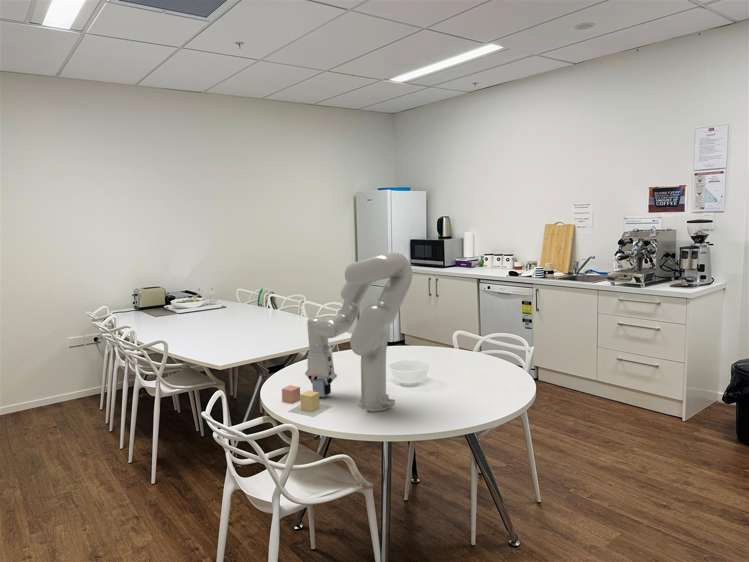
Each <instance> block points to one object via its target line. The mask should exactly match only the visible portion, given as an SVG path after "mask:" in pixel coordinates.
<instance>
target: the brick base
mask: <svg viewBox="0 0 749 562" xmlns="http://www.w3.org/2000/svg"><path fill="white" fill-rule="evenodd" d="M299 401H300V405H301V410H304V411H309V412H313V411H315V410H317V409H318V408H320V406H319V404H320V397H319V392H314V391H313V390H306V391H305V392H302V393H300V400H299Z"/></svg>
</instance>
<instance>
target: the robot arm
mask: <svg viewBox="0 0 749 562" xmlns="http://www.w3.org/2000/svg"><path fill="white" fill-rule="evenodd" d="M344 278H345V281H346V282H345V284H344V286H343V287H342V289H341V291H340V296H341V298H342V299H343V303H342V306H341V308H340V310H339V311H338V313H337V315H334V316H332V317H329V318H326V317H323V316H314V317H310V318H308V319H307V322H306V324H307V336H308V337H307V339H308V350H309V351H308V352H307V353H308V354H307V369H306V371H305V373H304V375H305V376H306V377H307V378H308V379H309V381H310V383H311V384H312V381H314V380H316V379H318V377H323V378H324V381H325V384H326V385H325V395H327V394H329V393H330V394H331V393H332V388H331V387H332V386H331V384H332V382H333V381H334V380H336V379H337V377H338V375H337V374H336V372H335V367H334V360H333V359H332V357H333V354H332V355H331V352H330V351H328V350H330V347H331V345H330V346H328V342H329V339H334V338H336V337H339V336H341V335H343V334H345V333H346V332H347V333H348V331H349V330H350V329H351V327H352V326H353V324H354V322H355V321H356V319H357V317H358V315H359V312H360V308H361V303H362V300H363V298H364V297H365V295H366V293H367V292H368V290H369V288H370V287H371V285H372V283H373V282H376V281H377V282H378V281H381V280H386V279H388V280H387V282H386V283H385V285H384V286H383V289H382V291H381V293H380V294H379V297H378V299H377V301H375V302H374V303H372V304H369V305H368V306H366V307H365V308H364V309H363V311H362V312H361V314H360V316H359V319H358V320H357V322H356V324H355V327H354V329H353V331H352V334H351V337H350V339H349V340H350V342H349V345H350V348H351V350H352V352H353V353H354V354H355V355H357V356H360V392H361V395H360V396H361V400H359V401H358V402H357V407H358V408H359V409H362V410H365V411H367V413H370V412H371V413H375V412H377V413H378V412H382V411H387V410H388V409H389V408H391V407H392V408H393V407H395V404H396V399H393V398H390V397H389V396H390V395H389V394H388V393H387V348H388V333H387V331H386V329H385V328H387V327H388V326H390V325H392V323H394V321H395V320H396V318H397V315H398V313H399V310H400V308H401V307H402V304H403V302H404V299H405V297H406V296H407V293H408V291H409V289H410V286H411V284H412V281H413V280H412V279H413V269H412V265H411V263H410V261H409V259H408V258H407V257H406V256H405V255H403V254H402V253H399V252H390V253H389V252H388V253H384V254H379V255H376V256H373V257H370V258H367V259H362V260H359V261H354V262H351V263H350V264H348V265H347V267H346V268H345V271H344ZM328 338H329V339H328ZM330 375H331V376H332V377H331V378H330ZM327 379H328V380H327ZM312 386H313V384H312ZM330 394H329V395H330ZM327 396H328V395H327Z"/></svg>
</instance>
